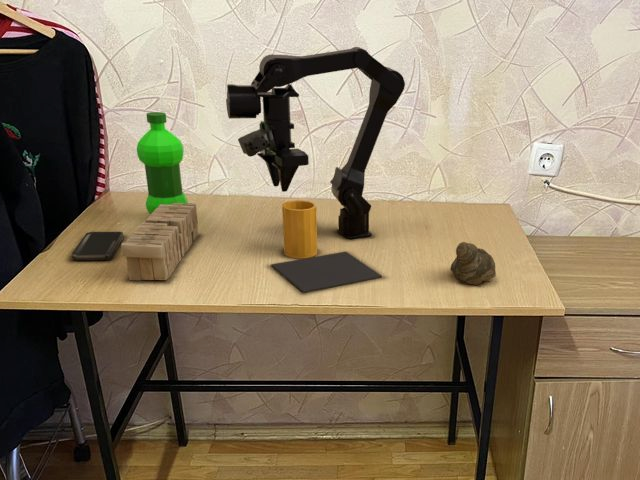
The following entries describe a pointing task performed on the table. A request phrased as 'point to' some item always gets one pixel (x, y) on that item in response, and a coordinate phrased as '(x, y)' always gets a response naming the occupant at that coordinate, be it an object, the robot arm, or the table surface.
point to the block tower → (161, 242)
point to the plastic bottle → (161, 163)
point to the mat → (325, 271)
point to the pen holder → (299, 229)
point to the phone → (98, 246)
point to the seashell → (473, 264)
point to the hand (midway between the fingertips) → (280, 188)
